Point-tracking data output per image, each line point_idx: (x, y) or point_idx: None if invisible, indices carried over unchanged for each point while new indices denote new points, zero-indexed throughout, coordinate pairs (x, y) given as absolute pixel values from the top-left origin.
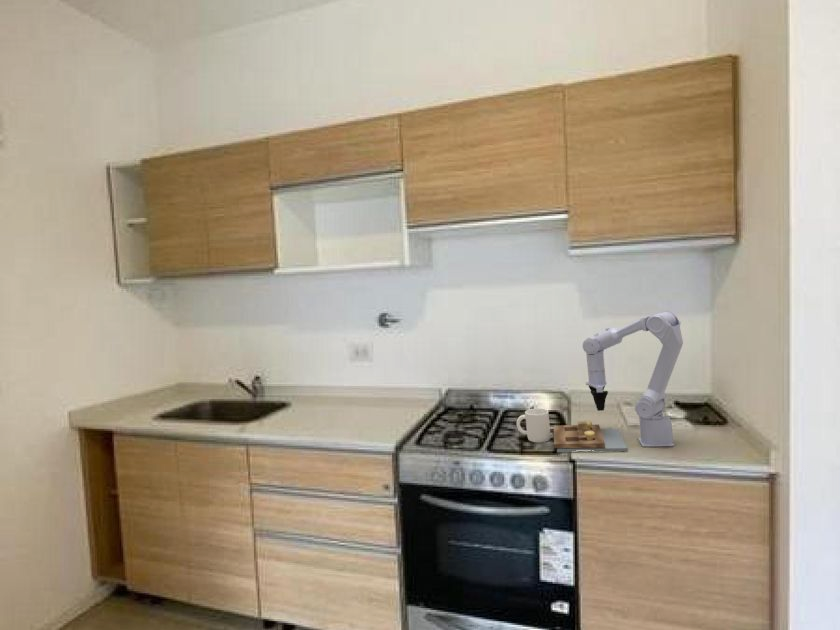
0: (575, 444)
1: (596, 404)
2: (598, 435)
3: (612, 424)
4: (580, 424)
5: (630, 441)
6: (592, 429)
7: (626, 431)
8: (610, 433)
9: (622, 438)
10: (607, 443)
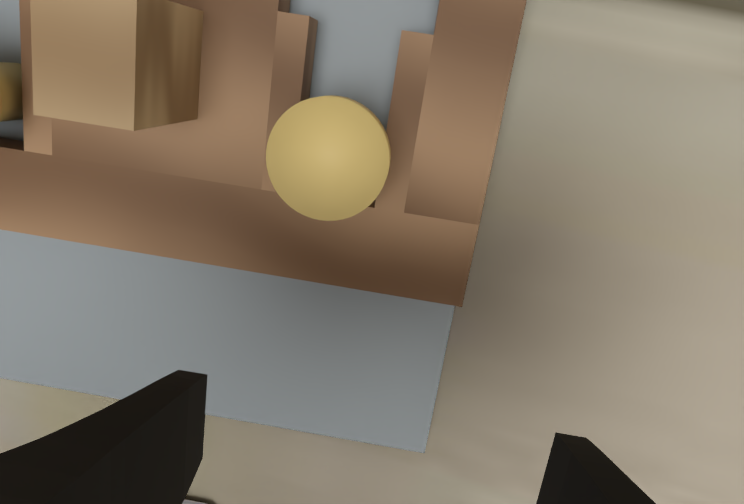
0: None
1: (92, 419)
2: (89, 207)
3: (658, 446)
4: (36, 12)
5: None
6: None
7: (423, 487)
8: (298, 347)
9: None
10: (26, 247)
